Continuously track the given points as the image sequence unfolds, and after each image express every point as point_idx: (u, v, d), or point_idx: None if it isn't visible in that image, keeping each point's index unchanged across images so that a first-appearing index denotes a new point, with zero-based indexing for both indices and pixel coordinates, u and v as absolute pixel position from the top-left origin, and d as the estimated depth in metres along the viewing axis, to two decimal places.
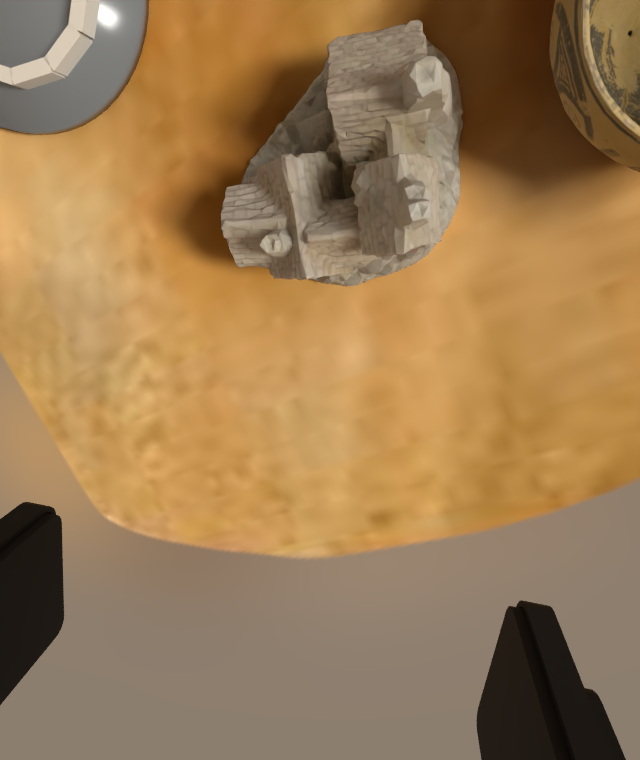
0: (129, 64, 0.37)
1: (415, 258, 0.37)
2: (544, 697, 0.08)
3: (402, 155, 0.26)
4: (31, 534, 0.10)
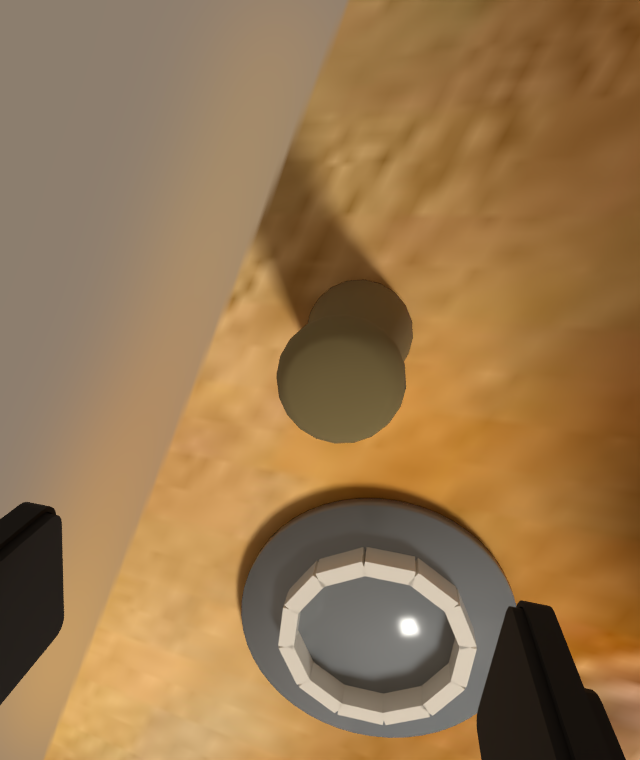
0: (388, 736, 0.37)
1: None
2: (544, 697, 0.08)
3: None
4: (31, 534, 0.10)
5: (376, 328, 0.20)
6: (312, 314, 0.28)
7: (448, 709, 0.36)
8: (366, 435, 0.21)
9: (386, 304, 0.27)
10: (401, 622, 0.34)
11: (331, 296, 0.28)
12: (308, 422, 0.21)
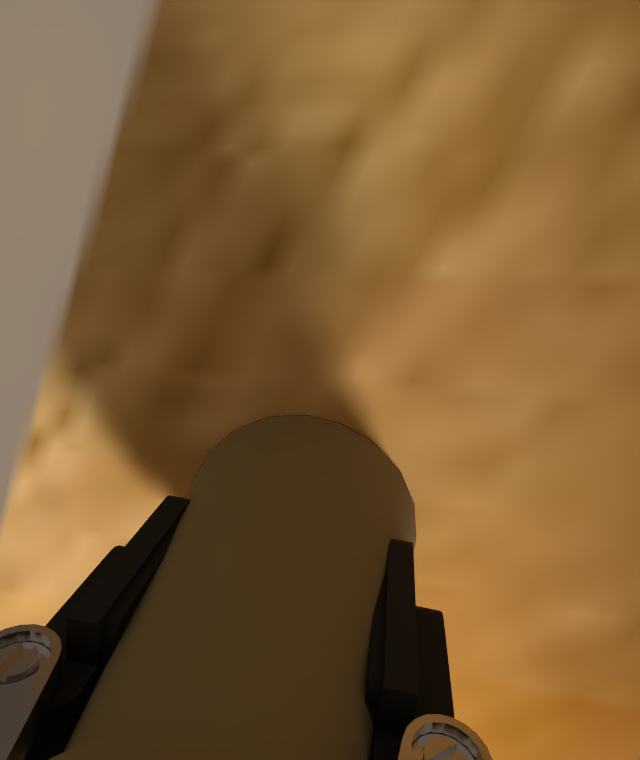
0: None
1: None
2: (379, 607, 0.09)
3: None
4: None
5: None
6: None
7: None
8: None
9: (352, 511, 0.11)
10: None
11: (220, 477, 0.11)
12: None
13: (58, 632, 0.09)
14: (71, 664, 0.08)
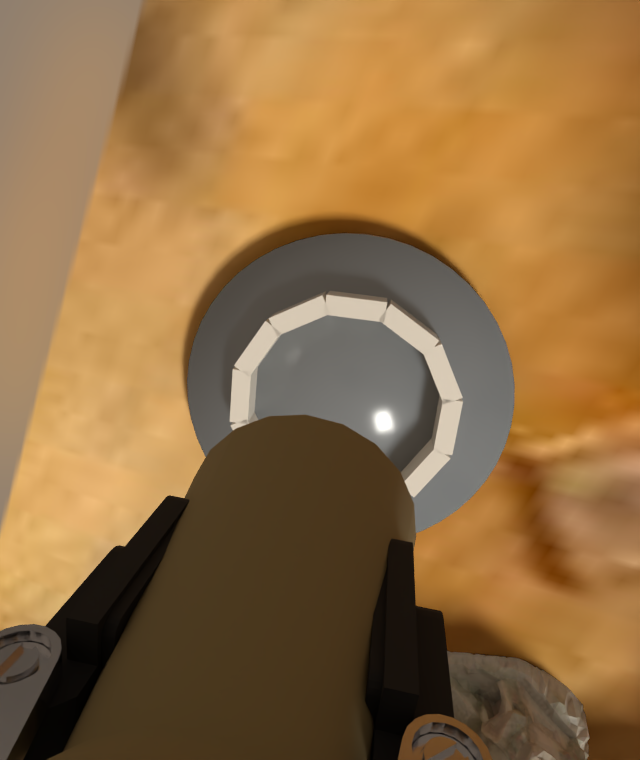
0: None
1: None
2: (379, 606, 0.09)
3: None
4: None
5: None
6: None
7: (433, 499, 0.30)
8: None
9: (352, 510, 0.11)
10: (374, 389, 0.29)
11: (219, 477, 0.11)
12: None
13: (58, 632, 0.09)
14: (71, 664, 0.08)
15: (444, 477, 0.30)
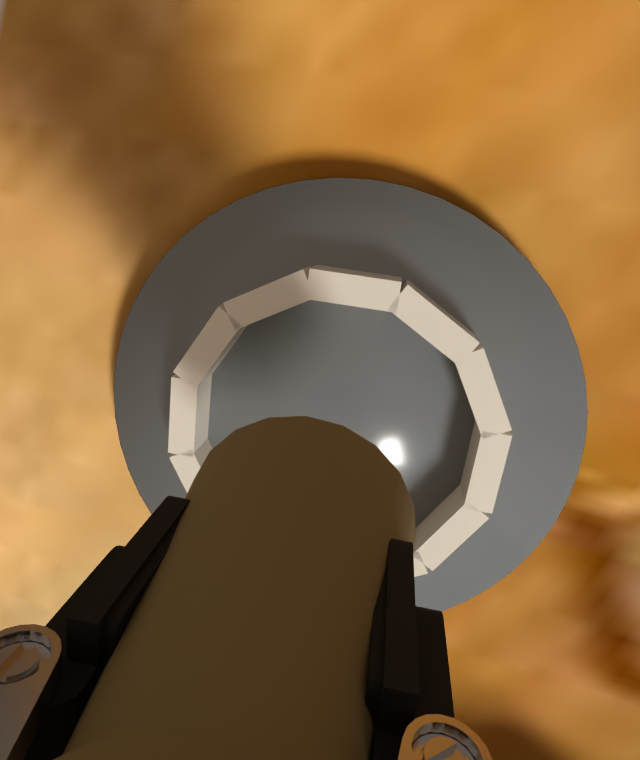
0: None
1: None
2: (379, 606, 0.09)
3: None
4: None
5: None
6: None
7: (459, 570, 0.21)
8: None
9: (351, 512, 0.10)
10: (379, 411, 0.20)
11: (219, 478, 0.11)
12: None
13: (58, 632, 0.09)
14: (71, 664, 0.08)
15: (476, 540, 0.21)
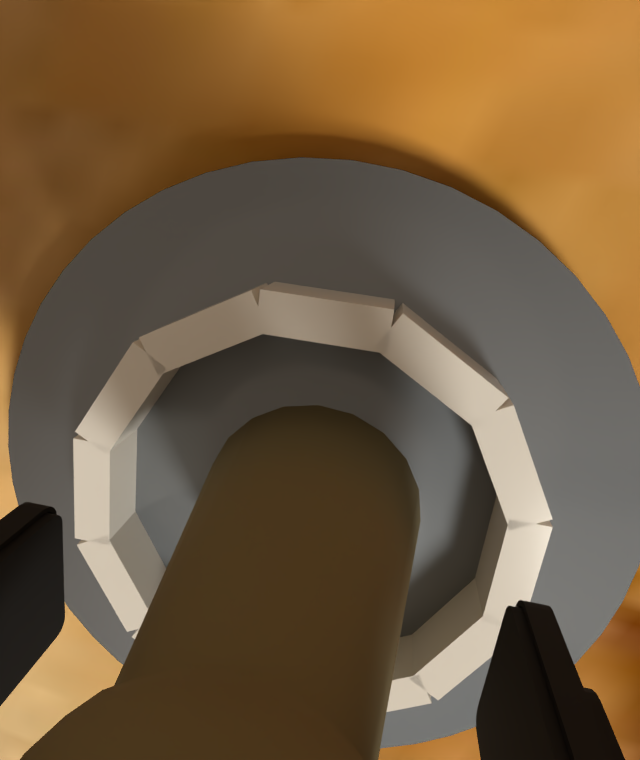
0: None
1: None
2: (543, 696, 0.08)
3: None
4: (32, 534, 0.10)
5: None
6: (201, 493, 0.13)
7: (472, 686, 0.16)
8: None
9: (363, 491, 0.11)
10: None
11: (240, 460, 0.12)
12: None
13: None
14: None
15: None
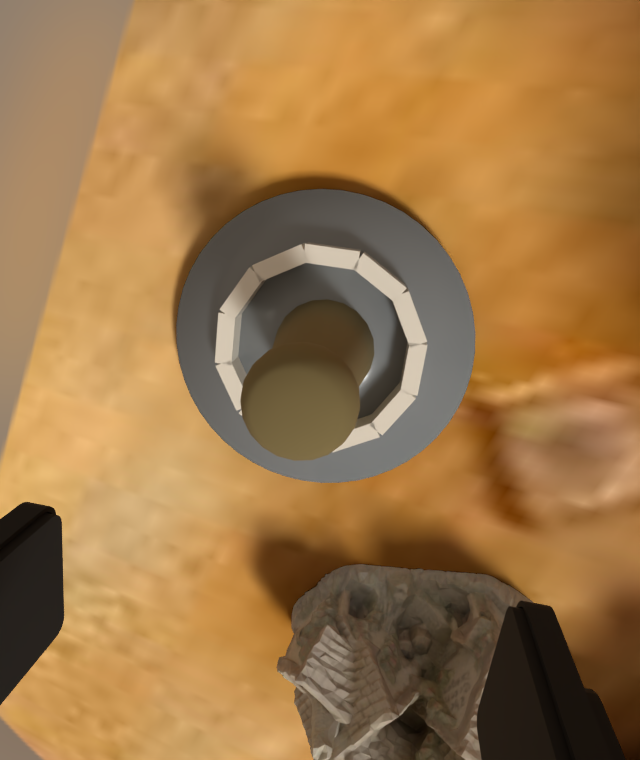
0: (338, 481, 0.35)
1: None
2: (544, 697, 0.08)
3: None
4: (31, 534, 0.10)
5: (332, 356, 0.22)
6: (278, 333, 0.30)
7: (401, 440, 0.33)
8: (323, 454, 0.22)
9: (347, 325, 0.28)
10: None
11: (296, 316, 0.29)
12: (269, 443, 0.22)
13: None
14: None
15: (411, 419, 0.33)
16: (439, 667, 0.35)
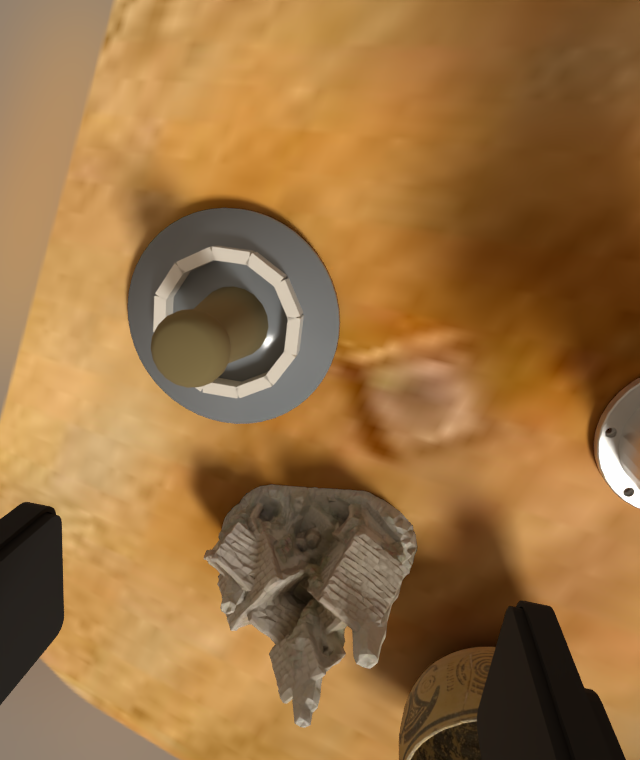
0: (249, 422, 0.47)
1: None
2: (544, 697, 0.08)
3: (323, 673, 0.39)
4: (31, 534, 0.10)
5: (208, 317, 0.34)
6: None
7: (291, 390, 0.45)
8: (203, 382, 0.35)
9: (240, 303, 0.41)
10: None
11: (206, 297, 0.41)
12: (167, 374, 0.34)
13: None
14: None
15: (297, 374, 0.45)
16: (324, 557, 0.46)
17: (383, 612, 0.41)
